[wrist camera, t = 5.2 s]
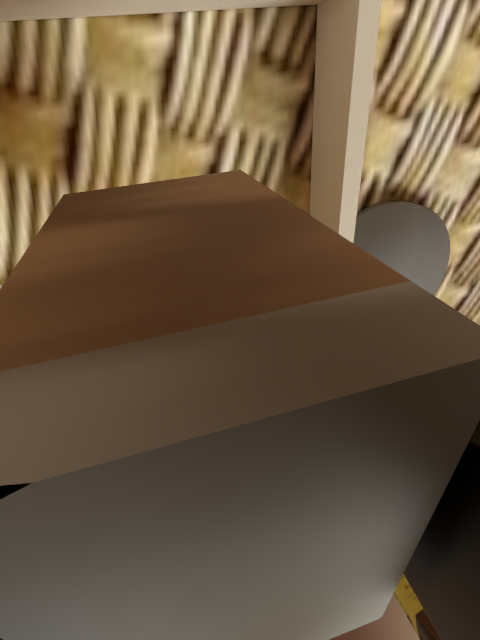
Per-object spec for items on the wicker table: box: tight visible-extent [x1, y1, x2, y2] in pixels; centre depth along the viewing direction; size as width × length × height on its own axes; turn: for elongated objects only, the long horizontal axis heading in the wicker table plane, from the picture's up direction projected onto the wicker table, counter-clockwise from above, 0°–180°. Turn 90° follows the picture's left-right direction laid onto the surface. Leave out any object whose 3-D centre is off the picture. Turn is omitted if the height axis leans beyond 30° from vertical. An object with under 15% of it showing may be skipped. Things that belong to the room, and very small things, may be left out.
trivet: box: [353, 200, 450, 295], centre depth 20 cm, size 9×9×1 cm
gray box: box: [0, 170, 480, 640], centre depth 7 cm, size 4×6×8 cm
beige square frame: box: [0, 0, 382, 289], centre depth 15 cm, size 17×21×3 cm
